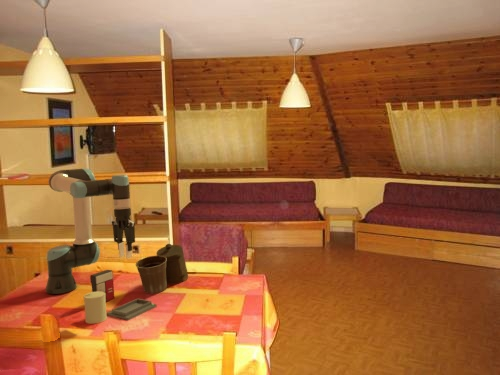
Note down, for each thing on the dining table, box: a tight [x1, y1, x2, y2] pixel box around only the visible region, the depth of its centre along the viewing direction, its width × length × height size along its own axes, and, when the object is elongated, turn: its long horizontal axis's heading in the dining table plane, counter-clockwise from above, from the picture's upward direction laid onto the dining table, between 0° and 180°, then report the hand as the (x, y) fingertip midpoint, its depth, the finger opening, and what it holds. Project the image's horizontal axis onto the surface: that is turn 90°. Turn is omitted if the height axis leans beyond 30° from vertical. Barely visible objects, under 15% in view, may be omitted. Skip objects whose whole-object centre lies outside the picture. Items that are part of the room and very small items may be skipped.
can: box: [83, 291, 108, 325], centre depth 186 cm, size 9×9×12 cm
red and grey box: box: [89, 269, 115, 303], centre depth 209 cm, size 11×4×15 cm, turn 149°
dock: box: [106, 298, 157, 321], centre depth 196 cm, size 14×18×2 cm
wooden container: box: [156, 243, 189, 285], centre depth 234 cm, size 15×15×22 cm
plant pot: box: [135, 255, 168, 295], centre depth 221 cm, size 16×16×16 cm
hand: (125, 257), depth 195 cm, fingers open, 4 cm apart
